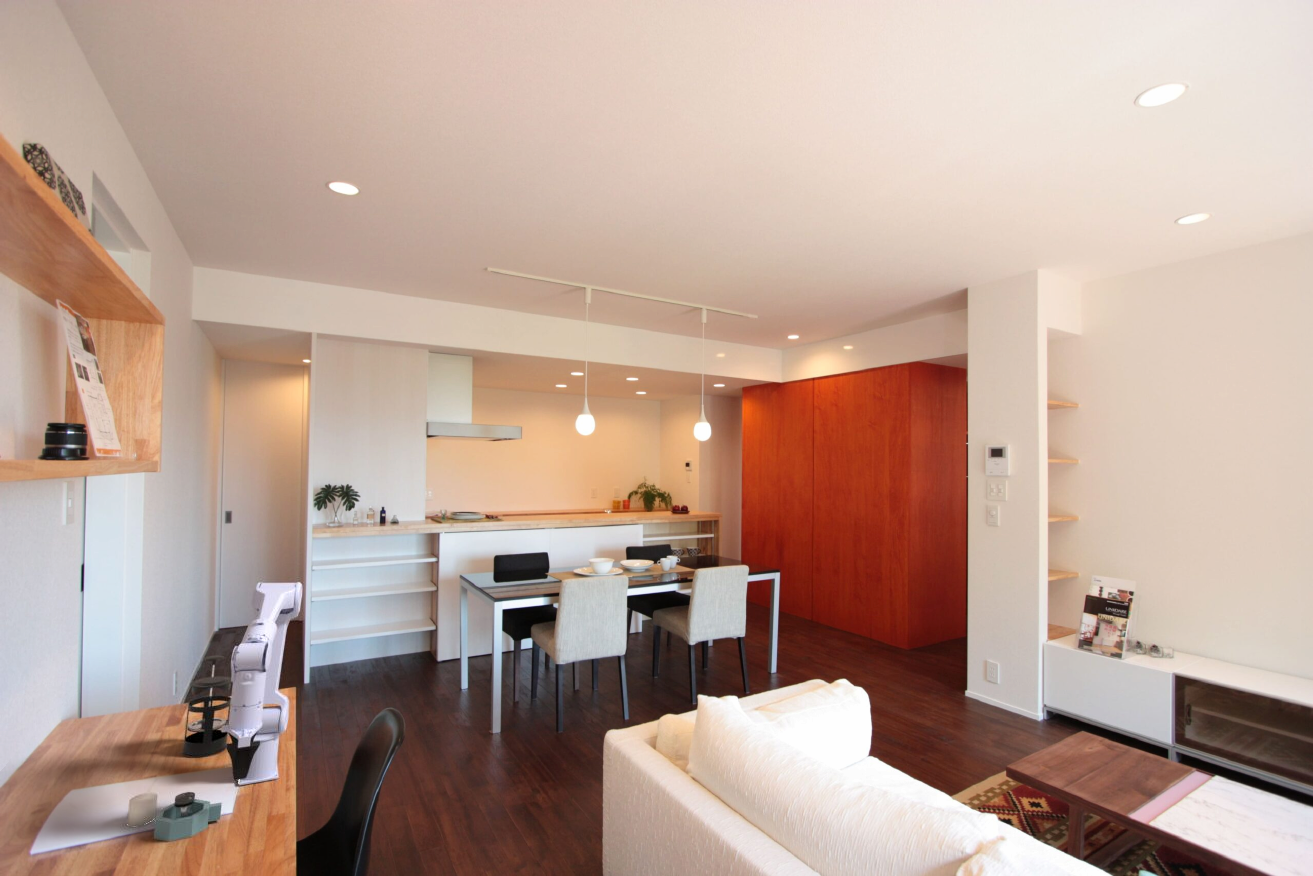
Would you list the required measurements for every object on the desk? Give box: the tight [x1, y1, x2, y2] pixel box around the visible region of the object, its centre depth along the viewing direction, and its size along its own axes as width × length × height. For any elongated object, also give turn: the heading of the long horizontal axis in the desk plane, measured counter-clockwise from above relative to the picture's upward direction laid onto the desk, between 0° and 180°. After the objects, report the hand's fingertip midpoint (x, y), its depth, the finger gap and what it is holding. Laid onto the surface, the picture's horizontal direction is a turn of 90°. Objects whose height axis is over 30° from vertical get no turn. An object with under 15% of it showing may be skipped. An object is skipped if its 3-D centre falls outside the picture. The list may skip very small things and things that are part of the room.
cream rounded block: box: [126, 792, 158, 827], centre depth 127 cm, size 4×4×4 cm
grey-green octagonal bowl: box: [153, 798, 223, 842], centre depth 125 cm, size 8×10×4 cm
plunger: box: [173, 791, 196, 818], centre depth 125 cm, size 5×5×6 cm
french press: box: [181, 655, 232, 759], centre depth 161 cm, size 12×9×23 cm
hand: (240, 771), depth 129 cm, fingers open, 7 cm apart
